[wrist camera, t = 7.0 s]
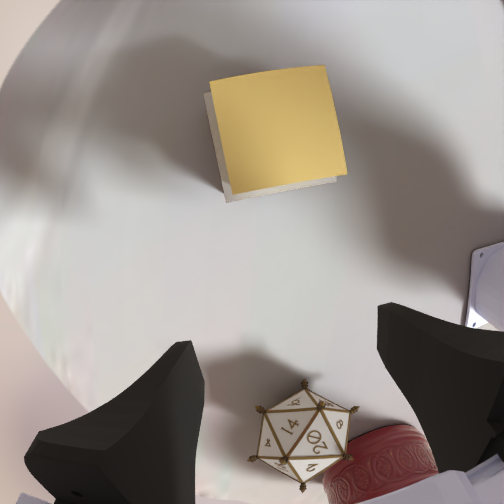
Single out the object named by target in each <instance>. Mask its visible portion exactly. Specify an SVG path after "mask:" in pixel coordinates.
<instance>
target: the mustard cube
mask: <svg viewBox="0 0 504 504" xmlns="http://www.w3.org/2000/svg"><path fill="white" fill-rule="evenodd" d="M209 83H210V88H211V93H212V98H213V103H214V108H215V113H216V118H217V122H218V127H219V132H220V137H221V142H222V147H223V152H224V156H225V161H226V166H227V171H228V176H229V181H230V185H231V190H232V195H235V194H240V193H245V192H250V191H255V190H260V189H265V188H270V187H276V186H281V185H286V184H292V183H298V182H303V181H309V180H315V179H321V178H327V177H333V176H340V175H346V174H347V168H346V162H345V156H344V151H343V145H342V140H341V135H340V130H339V125H338V120H337V115H336V111H335V106H334V102H333V97H332V93H331V89H330V85H329V81H328V77H327V73H326V69H325V65H318V66H306V67H296V68H287V69H279V70H271V71H264V72H258V73H251V74H246V75H240V76H234V77H229V78H224V79H219V80H215V81H210V82H209Z"/></svg>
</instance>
